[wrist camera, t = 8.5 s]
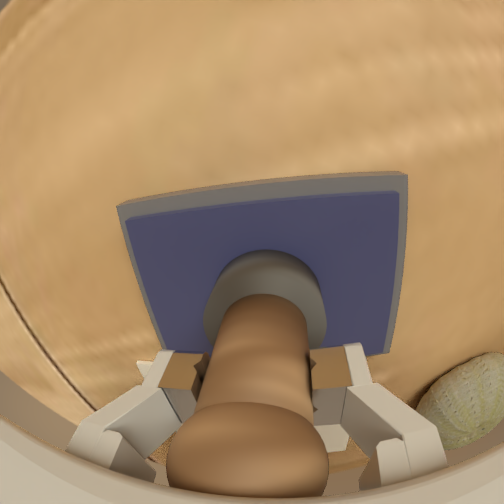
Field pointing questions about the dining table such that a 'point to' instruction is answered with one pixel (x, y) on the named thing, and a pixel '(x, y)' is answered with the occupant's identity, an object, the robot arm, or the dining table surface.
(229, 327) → the stamp
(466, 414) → the sea urchin shell
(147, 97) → the dining table surface
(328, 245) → the ink pad
